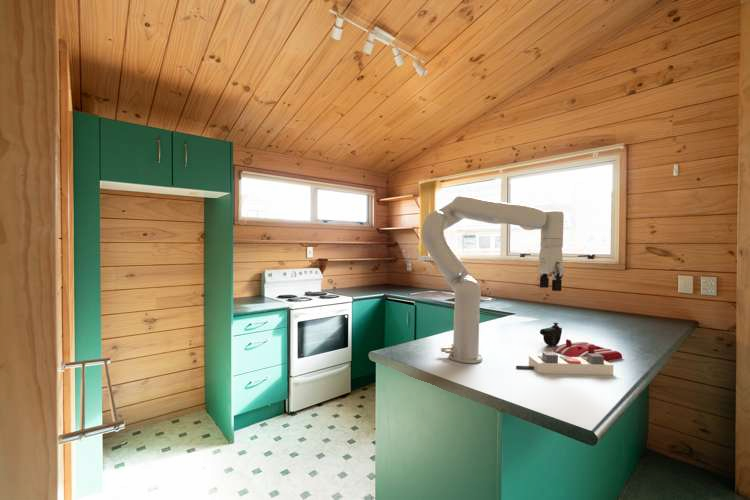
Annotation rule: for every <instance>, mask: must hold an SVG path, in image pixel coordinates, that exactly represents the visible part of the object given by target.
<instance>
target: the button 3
mask: <svg viewBox="0 0 750 500" xmlns="http://www.w3.org/2000/svg"><path fill="white" fill-rule="evenodd" d="M587 362H589V363H591V364H603V365H604V356H602V355H600V354H588V353H587Z"/></svg>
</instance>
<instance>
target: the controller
mask: <svg viewBox="0 0 750 500" xmlns="http://www.w3.org/2000/svg"><path fill="white" fill-rule="evenodd" d="M552 323H553V325H552V326H550V327H545V328H541V329H540V331H539V334H540V335H541V336H543V342H544V343H545V345H547V346H549V347H556V346H557V345H559V342H560V341H561V337H562V332H563V327H560V326H559V323H558V322H552Z"/></svg>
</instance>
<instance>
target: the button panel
mask: <svg viewBox="0 0 750 500" xmlns="http://www.w3.org/2000/svg"><path fill="white" fill-rule="evenodd" d="M565 358H576V359H578V360H579V361H581V364H569V363H567V362H566V361H565ZM515 369H517V370H518V369H519V370H521V369H522V370H534V371H535V372H536V373H537V374H562V375H563V374H565V375H566V374H567V375H595V376H596V375H597V376H599V375H601V376H614V364H612V363H610V362H608V361H605V360H604V365H603V364H591V363H589V362H587V357H568V356H564V355H560V356H559V355H558V363H545V362H544V361H542V355H528V365H515Z"/></svg>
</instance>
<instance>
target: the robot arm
mask: <svg viewBox="0 0 750 500" xmlns="http://www.w3.org/2000/svg"><path fill="white" fill-rule="evenodd" d="M564 217H565V215H564V212H563V211H562V210H556V209H555V210H553V209H552V210H545V211H544V210H542V209H541V208H538V207H533V206H529V205H523V204H515V203H510V202H502V201H495V200H489V199H485V198H480V197H479V198H478V197H474V196H469V195H458V196H456V197H455V198H454V199H453V200H452V201H451V202H450V203H448V204H447V205H445V206H443V207H441V208H439V209H438V210H433V211H430V212H428V214H427V215H426V217H425V219H424V221H423V223H422V226H421V240H422V244H423V246H424V247H425V249H426V251H427V253H428V254H429V256H430V257H431V260H433V262H434V263H435V265H436V266H437V268H438V270H439V272H440V274H441V275H442V277H444V279H445V281H446V282H447V283H448V284H449V286H450V287H451V289H452V290H453V292H454V306H453V307H454V309H453V341H452V343H453V344H452V343H451V344H450V345H451V346H449V347H447V346H441V347H440V352H441V353H445V354H448V357H449V359H450V360H452V361H454V362H457V363H463V364H477V363H481V362H482V361H483V356H482V355H481V354H480V353H479V343H480V341H479V340H480V339H479V338H480V311H481V310H480V308H481V299H482V298H481V297H482V290H481V285H480V284H479V282H478V281H477V280H476V279H474V278H473V277H472V275H471V274H470V272H469V270H468V269H467V267H466V266H465V265H464V264H463V261H462V259H461V257H459V256H458V255H457V253H456V252H455V250H454V249H453V248H452V246H451V244H450V243H449V241H448V240H447V239H446V237H445V230H447V229H448V228H450V227H452V226H454V225H455V224H457V223H459V222H460V221H462V220H464V219H466V220H467V219H468V220H471V221H477V222H482V223H487V224H494V225H497V224H498V225H499V224H500V225H501V224H503V225H504V224H505V225H514V226H519V227H520V228H522V229H523V230H525V231H526V230H527V231H534V230H540V251H539V256H538V264H537V265H538V268H537V270H538V272H539V287H540V288H541V289H542V288H543V289H544V288H546V289H548V288H549V286H550V284H549V283H550V277H549V275H550V274H551V277H552V280H551V291H552V292H562V287H563V286H562V283H563V282H562V281H563V277H564V271H565V267H563V263H564V262H563V249H562V248H563V247H564V221H565V220H564Z"/></svg>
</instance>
